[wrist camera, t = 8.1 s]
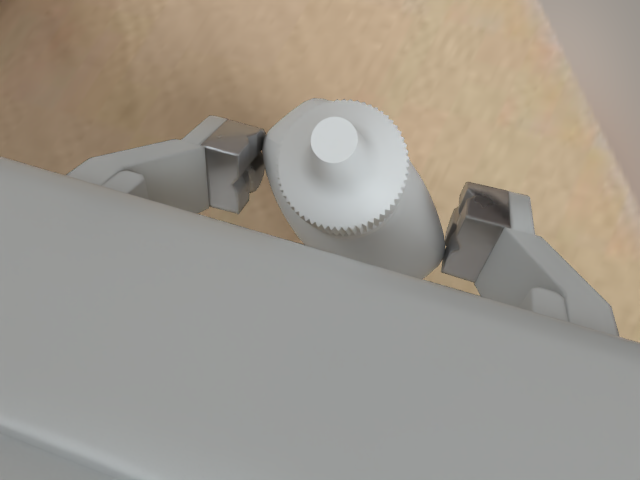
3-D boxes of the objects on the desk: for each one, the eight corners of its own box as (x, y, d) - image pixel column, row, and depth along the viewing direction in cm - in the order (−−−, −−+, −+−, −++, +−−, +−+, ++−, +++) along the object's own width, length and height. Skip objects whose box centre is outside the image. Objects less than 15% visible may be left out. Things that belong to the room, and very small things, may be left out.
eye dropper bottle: (399, 152, 18) (451, -73, 6) (422, 284, 18) (524, 309, 6) (299, 170, 19) (170, -5, 7) (318, 299, 18) (216, 352, 6)
